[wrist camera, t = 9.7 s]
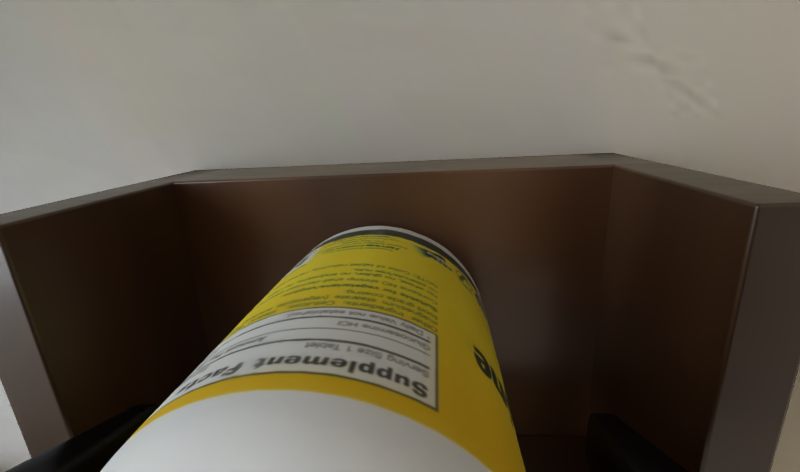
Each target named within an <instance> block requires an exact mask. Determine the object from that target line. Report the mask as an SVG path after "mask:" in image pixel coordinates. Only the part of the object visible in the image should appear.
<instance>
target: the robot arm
mask: <svg viewBox="0 0 800 472" xmlns="http://www.w3.org/2000/svg"><path fill="white" fill-rule="evenodd" d="M158 408H159V406H158V405H155V404H138V405H135V406H133V407H131V408H129V409H127V410H125V411H123V412H121V413H119V414H117V415H115V416H113V417H111V418H109V419H107V420H106V421H104V422H102V423H100V424H98V425H96V426H94V427H92V428H90V429H88V430H86V431H84V432H82V433H80V434H78V435H76V436H74V437H72V438H70V439H68V440H66V441H65V442H63V443H61V444H59V445H57V446H55V447H53V448H51V449H49V450H47V451H45V452H43V453H41V454H39V455H37V456H35V457H33V458H31V459H29V460H27V461H25V462H23V463H22V464H20V465H18V466H16V467H14V468H12V469H10V470H8V471H6V472H100V471H101V470H102V469H103V468H104V466H105V465H106V464H107V463H108V462H109V460H110V459H111V458H112V457H113V456H114V455H115V453H116V452H117V451H118V450H119V449H120V448H121V447H122V446H123V445H124V444H125V442H126V441H127V440H128V439H129V438H130V437H131V436H132V435H133V434H134V433H135V432H136V430H137V429H138V428H139V427H140V426H141V425H142V424H143V423H144V422H145V421H146V420H147V419H148V418H149V417H150V416H151V415H152V414H153V413H154V412H155V411H156V410H157V409H158ZM585 452H586V458H587V462H588V465H589V469H590V472H689V471H688V470H687V469H685V468H684V467H683V466H682V465H680V464H679V463H678V462H676V461H675V460H674V459H672V458H671V457H670V456H668V455H667V454H666V453H664V452H663V451H662V450H660V449H659V448H658V447H656V446H655V445H654V444H652V443H651V442H650V441H648V440H647V439H646V438H644V437H643V436H642V435H640V434H639V433H638V432H636V431H635V430H634V429H632V428H631V427H630V426H629V425H627V424H626V423H625V422H623V421H622V420H621V419H619V418H618V417H617V416H615V415H613V414H611V413H592V414H590V415H589V418H588V424H587V434H586V444H585Z"/></svg>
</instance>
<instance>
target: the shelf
mask: <svg viewBox="0 0 800 472" xmlns="http://www.w3.org/2000/svg"><path fill="white" fill-rule="evenodd" d="M366 226H390V227H396V228H402V229H406V230H410V231H413V232H415V233H418V234H420V235H423V236H426V237H428V238H430V239H432V240H433V241H435V242H437V243H439V244H440V245H442V246H443V247H445V248H446V249H447V250H448V251H450V252H451V253H452V254H453V255H454V256H455V257H456V258H457V259H458V260H459V261H460V262H461V263H462V264H463V266H464V267H465V268H466V270H467V271H468V272H469V274H470V276H471V277H472V279H473V281H474V283H475V285H476V287H477V289H478V291H479V294H480V297H481V300H482V303H483V306H484V309H485V313H486V316H487V320H488V325H489V328H490V332H491V336H492V340H493V344H494V348H495V352H496V356H497V360H498V362H499V366H500V371H501V375H502V379H503V383H504V387H505V392H506V396H507V400H508V404H509V408H510V412H511V416H512V420H513V424H514V427H515V431H516V436H517V440H518V444H519V448H520V452H521V456H522V459H523V463H524V467H525V470H526V472H590V469H589V465H588V462H587V458H586V452H585V444H586V434H587V424H588V418H589V415H590V414H592V413H611V414H613V415H615V416H617V417H618V418H619V419H621V420H622V421H623V422H625V423H626V424H627V425H629V426H630V427H631V428H632V429H634V430H635V431H636V432H638V433H639V434H640V435H642V436H643V437H644V438H646V439H647V440H648V441H650V442H651V443H652V444H654V445H655V446H656V447H658V448H659V449H660V450H662V451H663V452H664V453H666V454H667V455H668V456H670V457H671V458H672V459H674V460H675V461H676V462H678V463H679V464H680V465H682V466H683V467H684V468H685V469H687V470H688V471H689V472H770V470H771V467H772V463H773V459H774V456H775V452H776V449H777V445H778V441H779V438H780V434H781V430H782V427H783V423H784V419H785V416H786V412H787V408H788V405H789V401H790V397H791V394H792V390H793V387H794V383H795V379H796V376H797V372H798V368H799V365H800V193H797V192H793V191H788V190H783V189H779V188H774V187H769V186H765V185H760V184H755V183H750V182H746V181H741V180H736V179H732V178H727V177H722V176H718V175H713V174H708V173H704V172H699V171H694V170H690V169H685V168H680V167H676V166H671V165H666V164H661V163H657V162H652V161H647V160H643V159H638V158H633V157H629V156H624V155H619V154H615V153H599V154H575V155H551V156H528V157H504V158H480V159H456V160H432V161H408V162H384V163H360V164H337V165H313V166H289V167H265V168H241V169H217V170H194V171H190V172H185V173H181V174H177V175H172V176H168V177H163V178H159V179H154V180H150V181H146V182H141V183H137V184H132V185H128V186H123V187H119V188H115V189H110V190H106V191H101V192H97V193H92V194H88V195H84V196H79V197H75V198H70V199H66V200H61V201H57V202H53V203H48V204H44V205H39V206H35V207H30V208H26V209H22V210H17V211H13V212H8V213H4V214H0V379H1V382H2V384H3V387H4V389H5V392H6V394H7V397H8V399H9V402H10V404H11V407H12V409H13V412H14V415H15V417H16V420H17V422H18V425H19V427H20V430H21V432H22V435H23V437H24V440H25V442H26V445H27V447H28V450H29V452H30V455H31V457H32V458H33V457H35V456H37V455H39V454H41V453H43V452H45V451H47V450H49V449H51V448H53V447H55V446H57V445H59V444H61V443H63V442H65V441H66V440H68V439H70V438H72V437H74V436H76V435H78V434H80V433H82V432H84V431H86V430H88V429H90V428H92V427H94V426H96V425H98V424H100V423H102V422H104V421H106V420H107V419H109V418H111V417H113V416H115V415H117V414H119V413H121V412H123V411H125V410H127V409H129V408H131V407H133V406H135V405H138V404H155V405H158V406H159V407H160V406H161V405H162V403H163V402H164V401H165V400H166V399H167V398H168V397H169V396H170V395H171V394H172V393H173V392H174V391H175V390H176V389H177V388H178V387H179V386H180V385H181V384H182V383H183V382H184V381H185V380H186V378H187V377H188V376H189V375H190V374H191V373H192V372H193V371H194V370H195V369H196V368H197V367H198V366H199V365H200V364H201V363H202V362H203V361H204V360H205V359H206V358H207V357H208V355H209V354H210V353H211V352H212V351H213V350H214V349H215V348H216V347H217V346H218V345H219V344H220V343H221V342H222V341H223V340H224V339H225V338H226V337H227V336H228V335H229V334H230V333H231V331H232V330H233V329H234V328H235V327H236V326H237V325H238V324H239V323H240V322H241V321H242V320H243V319H244V317H245V316H246V315H247V314H248V313H250V312H251V311H252V310H253V308H254V307H255V306H256V305H257V304H258V303H259V302H260V301H261V300H262V299H263V298H264V297H265V296H266V295H267V294H268V293H269V292H270V291H271V290H272V289H273V288H274V287H275V286H276V285H277V284H278V283H279V282H280V281H281V280H282V278H283V277H285V276H286V275H287V274H288V273H289V272H290V271H291V270H292V269H293V268H294V267H295V265H296V264H297V263H299V262H300V261H301V260H302V259H303V258H304V257H305V256H306V255H307V254H308V253H309V252H310V251H311V250H312V249H313V248H315V247H316V246H317V245H319V244H320V243H322V242H323V241H325V240H326V239H328V238H330V237H332V236H334V235H336V234H339V233H341V232H344V231H347V230H351V229H355V228H359V227H366Z"/></svg>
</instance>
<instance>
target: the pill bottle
mask: <svg viewBox="0 0 800 472" xmlns="http://www.w3.org/2000/svg"><path fill="white" fill-rule="evenodd" d="M100 472H526V470H525V467H524V463H523V459H522V456H521V452H520V448H519V444H518V440H517V436H516V431H515V427H514V424H513V420H512V416H511V412H510V408H509V404H508V400H507V396H506V392H505V387H504V383H503V379H502V375H501V371H500V366H499V362H498V360H497V356H496V352H495V348H494V344H493V340H492V336H491V332H490V328H489V325H488V320H487V316H486V313H485V309H484V306H483V303H482V300H481V297H480V294H479V291H478V289H477V287H476V285H475V283H474V281H473V279H472V277H471V276H470V274H469V272H468V271H467V270H466V268H465V267H464V266H463V264H462V263H461V262H460V261H459V260H458V259H457V258H456V257H455V256H454V255H453V254H452V253H451V252H450V251H448V250H447V249H446V248H445V247H443V246H442V245H440V244H439V243H437V242H435V241H433V240H432V239H430V238H428V237H426V236H423V235H420V234H418V233H415V232H413V231H410V230H406V229H402V228H396V227H390V226H366V227H359V228H355V229H351V230H347V231H344V232H341V233H339V234H336V235H334V236H332V237H330V238H328V239H326V240H325V241H323V242H322V243H320V244H319V245H317V246H316V247H315V248H313V249H312V250H311V251H310V252H309V253H308V254H307V255H306V256H305V257H304V258H303V259H302V260H301V261H300V262H299V263H297V264H296V265H295V267H294V268H293V269H292V270H291V271H290V272H289V273H288V274H287V275H286V276H285V277H283V278H282V280H281V281H280V282H279V283H278V284H277V285H276V286H275V287H274V288H273V289H272V290H271V291H270V292H269V293H268V294H267V295H266V296H265V297H264V298H263V299H262V300H261V301H260V302H259V303H258V304H257V305H256V306H255V307H254V308H253V310H252V311H251V312H250V313H248V314H247V315H246V316H245V317H244V319H243V320H242V321H241V322H240V323H239V324H238V325H237V326H236V327H235V328H234V329H233V330H232V331H231V333H230V334H229V335H228V336H227V337H226V338H225V339H224V340H223V341H222V342H221V343H220V344H219V345H218V346H217V347H216V348H215V349H214V350H213V351H212V352H211V353H210V354H209V355H208V357H207V358H206V359H205V360H204V361H203V362H202V363H201V364H200V365H199V366H198V367H197V368H196V369H195V370H194V371H193V372H192V373H191V374H190V375H189V376H188V377H187V378H186V380H185V381H184V382H183V383H182V384H181V385H180V386H179V387H178V388H177V389H176V390H175V391H174V392H173V393H172V394H171V395H170V396H169V397H168V398H167V399H166V400H165V401H164V402H163V403H162V405H161V406H160V407H159V408H158V409H157V410H156V411H155V412H154V413H153V414H152V415H151V416H150V417H149V418H148V419H147V420H146V421H145V422H144V423H143V424H142V425H141V426H140V427H139V428H138V429H137V430H136V432H135V433H134V434H133V435H132V436H131V437H130V438H129V439H128V440H127V441H126V442H125V444H124V445H123V446H122V447H121V448H120V449H119V450H118V451H117V452H116V453H115V455H114V456H113V457H112V458H111V459H110V460H109V462H108V463H107V464H106V465H105V466H104V468H103V469H102V470H101V471H100Z"/></svg>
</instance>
